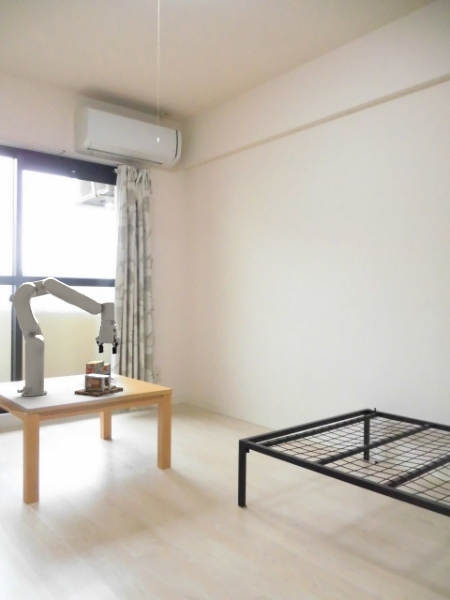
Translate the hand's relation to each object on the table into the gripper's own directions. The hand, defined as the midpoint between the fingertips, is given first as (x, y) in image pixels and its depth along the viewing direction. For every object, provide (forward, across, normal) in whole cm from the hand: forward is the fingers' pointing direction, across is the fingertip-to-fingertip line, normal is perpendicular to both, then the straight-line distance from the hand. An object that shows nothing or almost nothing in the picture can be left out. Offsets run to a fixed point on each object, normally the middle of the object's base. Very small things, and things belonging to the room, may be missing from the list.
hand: (107, 353), depth 268 cm
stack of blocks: (+21, +26, -22) cm, 40 cm away
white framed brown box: (+19, 0, +5) cm, 19 cm away
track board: (+21, 0, +7) cm, 22 cm away
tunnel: (+19, 0, +8) cm, 21 cm away
